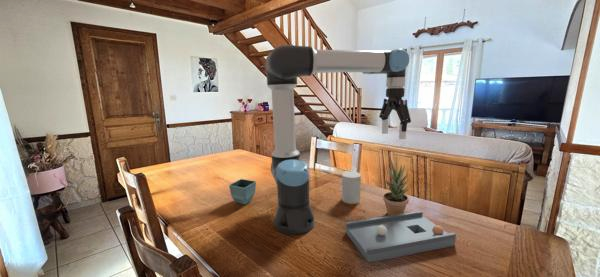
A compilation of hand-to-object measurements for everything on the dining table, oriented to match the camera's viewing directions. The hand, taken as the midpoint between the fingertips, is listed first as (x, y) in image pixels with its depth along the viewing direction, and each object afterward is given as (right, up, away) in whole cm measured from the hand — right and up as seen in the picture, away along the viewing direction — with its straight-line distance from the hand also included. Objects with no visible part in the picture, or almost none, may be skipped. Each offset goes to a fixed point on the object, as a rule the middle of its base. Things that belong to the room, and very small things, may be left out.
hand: (393, 136), depth 114 cm
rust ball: (+3, -31, -32) cm, 44 cm away
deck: (-9, -34, -29) cm, 46 cm away
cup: (-19, -29, +1) cm, 34 cm away
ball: (-15, -31, -31) cm, 46 cm away
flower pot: (-67, -30, +2) cm, 73 cm away
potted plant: (-4, -31, -13) cm, 34 cm away
